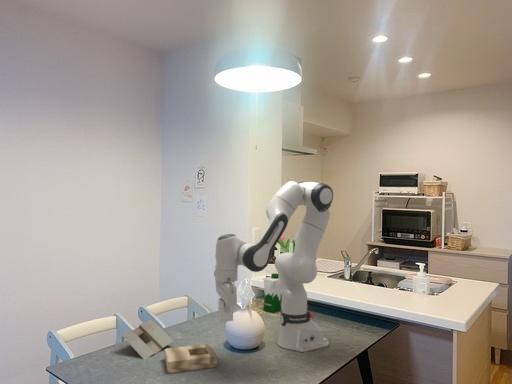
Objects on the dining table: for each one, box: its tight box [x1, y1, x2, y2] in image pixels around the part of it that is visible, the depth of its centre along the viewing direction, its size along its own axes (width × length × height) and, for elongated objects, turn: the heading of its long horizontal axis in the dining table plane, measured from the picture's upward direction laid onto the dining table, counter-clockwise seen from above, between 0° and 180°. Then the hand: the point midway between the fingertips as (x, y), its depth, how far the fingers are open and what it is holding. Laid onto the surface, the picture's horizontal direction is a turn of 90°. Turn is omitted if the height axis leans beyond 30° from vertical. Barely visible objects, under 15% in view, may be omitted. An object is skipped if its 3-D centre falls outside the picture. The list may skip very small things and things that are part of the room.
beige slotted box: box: [121, 318, 174, 360], centre depth 159 cm, size 16×9×15 cm
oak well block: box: [164, 343, 218, 374], centre depth 146 cm, size 18×12×4 cm, turn 108°
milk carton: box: [262, 272, 282, 314], centre depth 211 cm, size 9×9×20 cm
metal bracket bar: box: [217, 297, 234, 323], centre depth 150 cm, size 5×4×8 cm
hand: (225, 310), depth 150 cm, fingers closed on metal bracket bar, 4 cm apart
